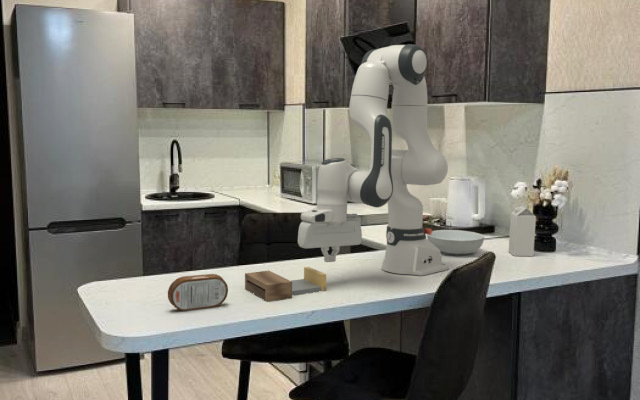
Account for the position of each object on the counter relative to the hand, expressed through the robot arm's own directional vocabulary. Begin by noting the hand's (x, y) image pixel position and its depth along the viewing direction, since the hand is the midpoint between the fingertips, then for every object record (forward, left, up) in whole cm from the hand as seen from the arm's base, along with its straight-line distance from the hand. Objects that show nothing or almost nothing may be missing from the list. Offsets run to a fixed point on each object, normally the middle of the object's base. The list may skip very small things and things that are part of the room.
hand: (329, 261), depth 175 cm
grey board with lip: (+10, 0, -7) cm, 12 cm away
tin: (+41, +4, -7) cm, 42 cm away
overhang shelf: (+20, 0, -7) cm, 21 cm away
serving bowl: (-67, -18, -7) cm, 70 cm away
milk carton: (-87, -4, -7) cm, 87 cm away
